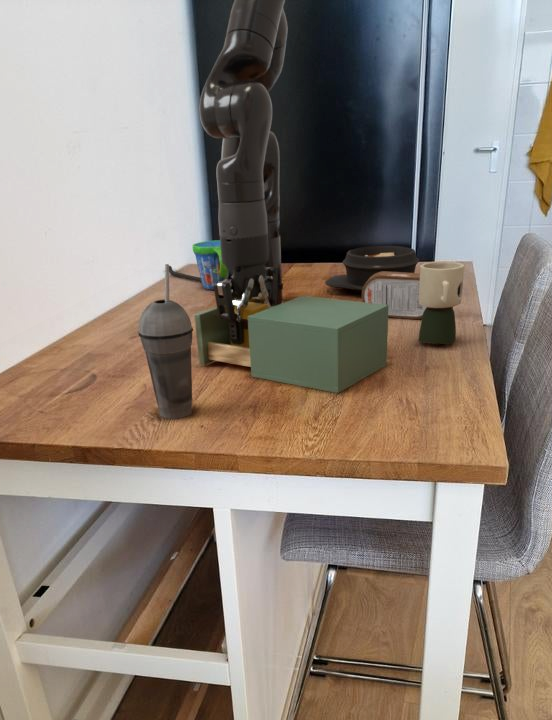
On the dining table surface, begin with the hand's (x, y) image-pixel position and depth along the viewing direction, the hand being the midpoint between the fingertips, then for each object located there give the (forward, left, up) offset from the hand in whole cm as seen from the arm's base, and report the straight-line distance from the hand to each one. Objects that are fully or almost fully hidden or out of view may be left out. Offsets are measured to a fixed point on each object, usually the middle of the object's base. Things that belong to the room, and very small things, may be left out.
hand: (250, 338), depth 118 cm
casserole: (-5, +55, -4) cm, 55 cm away
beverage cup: (+6, -25, -4) cm, 26 cm away
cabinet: (+14, 0, -4) cm, 14 cm away
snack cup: (-42, +42, -4) cm, 60 cm away
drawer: (+2, 0, -3) cm, 4 cm away
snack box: (0, 0, -2) cm, 2 cm away
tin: (+10, +35, -4) cm, 37 cm away
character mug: (+24, +22, -4) cm, 33 cm away
